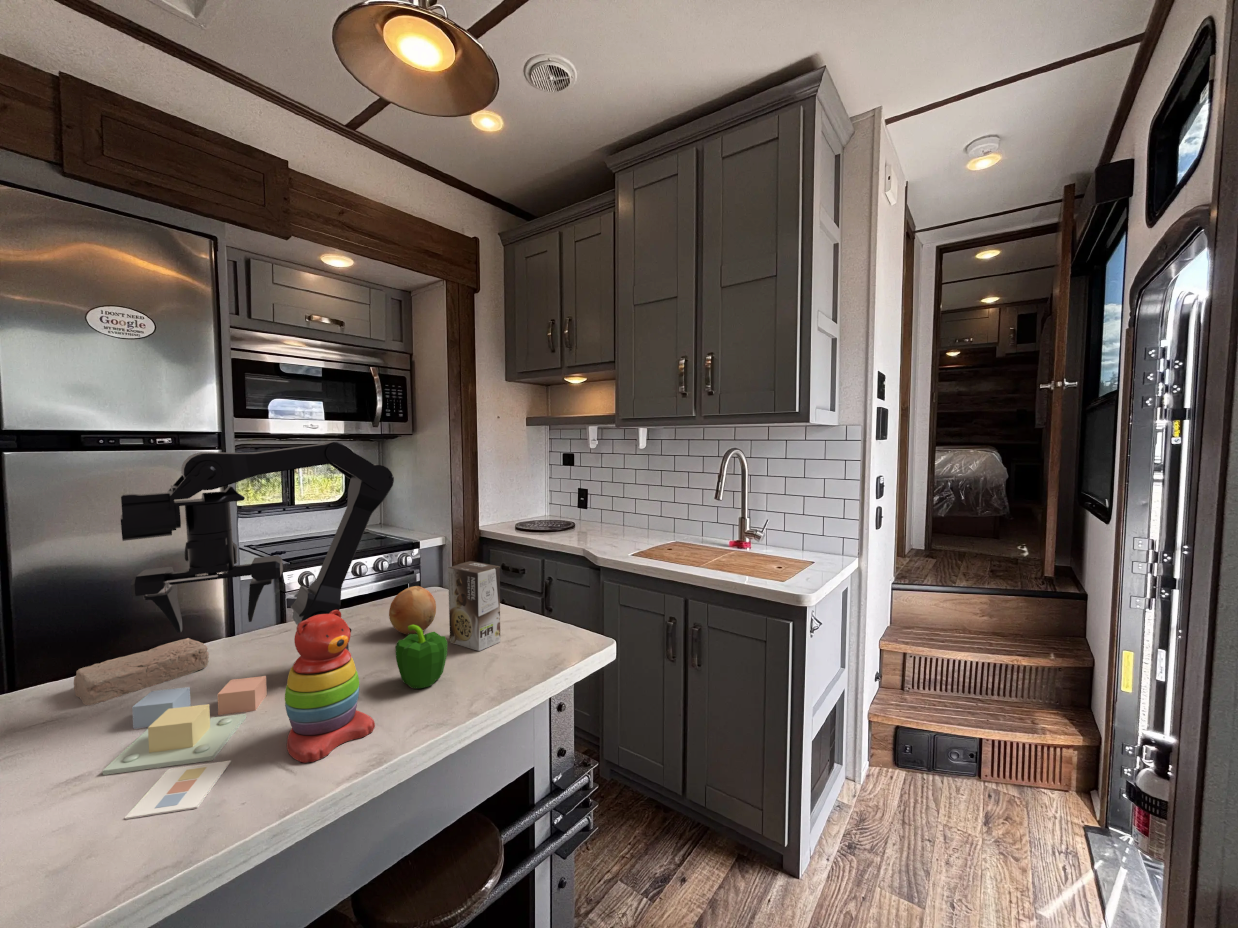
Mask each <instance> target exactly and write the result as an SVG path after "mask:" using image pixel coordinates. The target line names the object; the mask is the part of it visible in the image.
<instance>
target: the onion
mask: <svg viewBox="0 0 1238 928" xmlns="http://www.w3.org/2000/svg"><path fill="white" fill-rule="evenodd" d="M436 613H437V603H436V599H435V597H434V595H433V594H432V593H431V592H430V591H429V590H428V589H426V588H424V587H422V586H419V585H415V586H413V585H412V586H409V587H407V588H405V589H404V590H402V591H400V592H399V593H398V594H396V596H395V597H394V598H393V600H392V601H391V603H390V606H389V611H388V618H389V621H390V623H391V625H392V627H393V628H394V629H396V630H397V631H398V632H399V633H401V634H404V635H409V634H417V632H416V631H415V630H411V631H410V630H409V629H408V626H410V625H417V626H419V627H420V628H421V629H422V631H423V632H424V631H425V630H427V629H428V627H429V626H430V625H431V624H432V623H433V622H434V619H435V616H436Z"/></svg>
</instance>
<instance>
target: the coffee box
mask: <svg viewBox="0 0 1238 928" xmlns="http://www.w3.org/2000/svg"><path fill="white" fill-rule="evenodd" d="M500 569H501V566H499V565H494V564H489V563H484V562H479V561H478V562H477V561H473V560H469V561H465V562H461V563H459V564H456V565H452V566H449V567H448V568H447V576H448V577H447V582H448V615H449V616H448V619H449V621H448V622H449V623H448V625H449V643H451V644H454V645H457V646H461V647H464V648H468V649H472V650H475V651H477V652H481V651H483V650H484V649H485V650H486V649H488V648H489V647H492V646H494V645H496V644H499V643H501V578H500V577H501V572H500Z"/></svg>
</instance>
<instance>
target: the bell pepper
mask: <svg viewBox="0 0 1238 928" xmlns="http://www.w3.org/2000/svg"><path fill="white" fill-rule="evenodd" d="M408 629H409V630H410V631H411V630H415V631H416V632H417V633H416V634H407V635H406V637H404V638H402V639H398V640H397V642H396V644H395V647H394V648H395V660H396V664H397V667H398V668H397V669H398V672H399V675H400V678H401V680H402V682H403V683H404V684H405V685H408V687H410V688H411V689H424V688H428V687H431V686H432V685H433V684H435V683H436V681H437V680H439V679H440V678H441V676H442V675H443V673H444V670H445V665H446V661H447V656H448V640H447V639H446V636H444V635H440V634H439V633H437V631H431V632H427V633H425V634H424V630H423V631H422V629H421V628H420V627H419V626H417V625H410V626H408Z"/></svg>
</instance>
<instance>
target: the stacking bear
mask: <svg viewBox="0 0 1238 928" xmlns="http://www.w3.org/2000/svg"><path fill="white" fill-rule="evenodd" d="M351 633H352V632H351ZM351 633H350V629H349V625H348V623H347V621H345V620H344V618H342V612H341V611H340V610H333V611H331V612H330V613H329V614H320V615H315V616H312V617H310V618H308V619H306V620H305V621H302V622H300V623H299V624H298V625H297V624H296V631H295V634H294V647H295V649H296V652H297V653H298V655H300V656H298V657H297V659H296V660H295V662H294V663H293V665H292V666H291V667H290V669H289V672H288V676H287V681H286V682H287V683H286V687H285V691H284V706H285V707H284V708H285V711H286V715H287V717H288V721H289V724H290V726H291V729H290V730H289V733H288V736H287V740H286V749H287V752H288V754H289V755H290V757H292V758H293V759H294V760H295V761H298V762H300V763H304V764H305V763H306V764H307V763H313V762H316V761H319V760H321V759H324V758H325V757H327V756H329V754H330V753H331V752H332V751H333V750H335V748H337V747H338V746H340V745H342V744H344V743H347V742H349V741H354V740H357V739H361V738H364V737H366V736H367V735H369V734H371V733H373V732H374V729H375V728H376V723H375V721H374V719H373V718H372V717H371V716H370V715H368V714H367V713H364V712H361V711H360V710H357V707H358V699H359V695H360V678H359V673H358V670H357V668H356V664H355V661H354V659H353V657H352V653H351V652H350V651H348V650H347V649H345V648H346V647H347V645H349V642H350V639H351V636H352V635H351Z"/></svg>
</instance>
